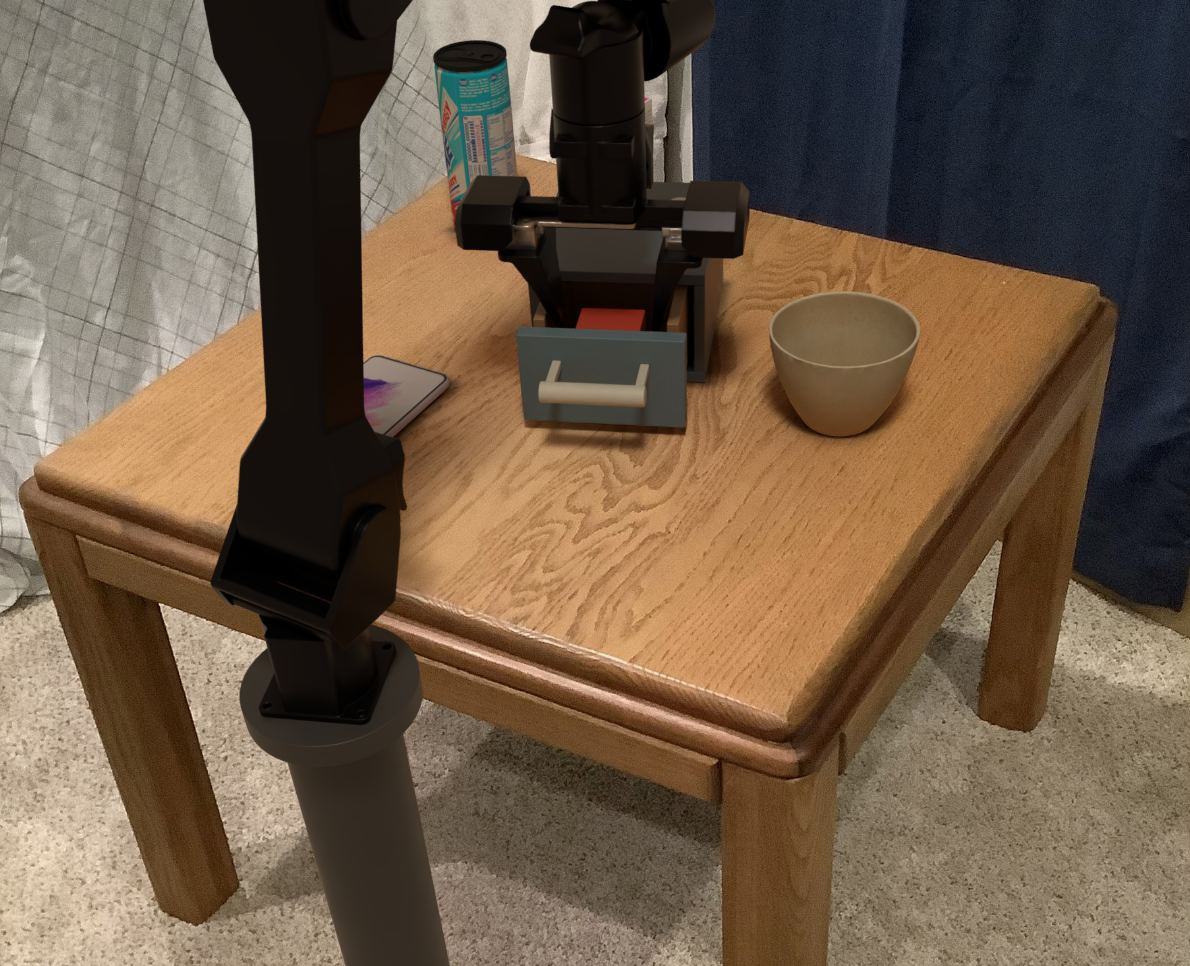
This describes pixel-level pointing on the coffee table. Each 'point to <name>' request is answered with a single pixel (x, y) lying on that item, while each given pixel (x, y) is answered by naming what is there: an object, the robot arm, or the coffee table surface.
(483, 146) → the teal canister
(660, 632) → the coffee table surface
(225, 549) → the robot arm
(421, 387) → the smartphone
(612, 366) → the drawer
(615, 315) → the block
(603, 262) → the cabinet
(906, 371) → the bowl
